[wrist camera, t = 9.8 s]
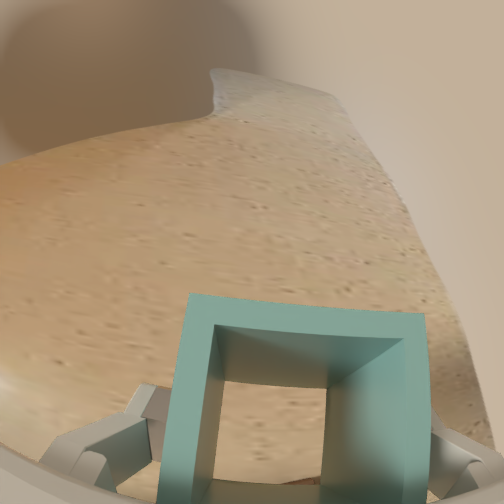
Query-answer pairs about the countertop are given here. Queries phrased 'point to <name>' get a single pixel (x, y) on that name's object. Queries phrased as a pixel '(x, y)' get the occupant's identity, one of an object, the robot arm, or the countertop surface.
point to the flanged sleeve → (304, 376)
